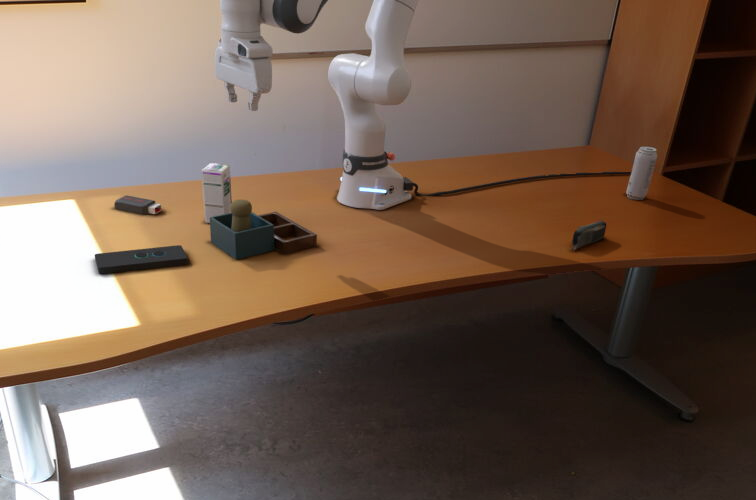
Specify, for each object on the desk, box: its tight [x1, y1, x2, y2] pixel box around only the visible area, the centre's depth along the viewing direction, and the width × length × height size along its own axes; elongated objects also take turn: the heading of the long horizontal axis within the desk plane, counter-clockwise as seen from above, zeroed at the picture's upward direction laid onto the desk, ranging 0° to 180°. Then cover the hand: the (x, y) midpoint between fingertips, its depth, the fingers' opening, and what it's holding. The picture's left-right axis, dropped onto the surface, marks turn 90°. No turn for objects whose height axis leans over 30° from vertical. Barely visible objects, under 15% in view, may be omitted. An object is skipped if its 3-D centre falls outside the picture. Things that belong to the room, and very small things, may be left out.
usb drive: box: [113, 195, 163, 215], centre depth 200 cm, size 5×12×3 cm, turn 69°
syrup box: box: [200, 162, 233, 224], centre depth 193 cm, size 6×6×14 cm
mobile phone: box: [571, 220, 607, 251], centre depth 194 cm, size 5×3×15 cm
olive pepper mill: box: [230, 198, 253, 232], centre depth 179 cm, size 6×6×11 cm
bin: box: [209, 211, 275, 260], centre depth 181 cm, size 11×12×7 cm
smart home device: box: [94, 244, 189, 275], centre depth 172 cm, size 8×2×20 cm
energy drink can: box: [625, 146, 658, 201], centre depth 225 cm, size 6×6×15 cm
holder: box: [258, 211, 318, 255], centre depth 188 cm, size 10×19×3 cm, turn 38°
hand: (242, 105), depth 176 cm, fingers open, 8 cm apart
